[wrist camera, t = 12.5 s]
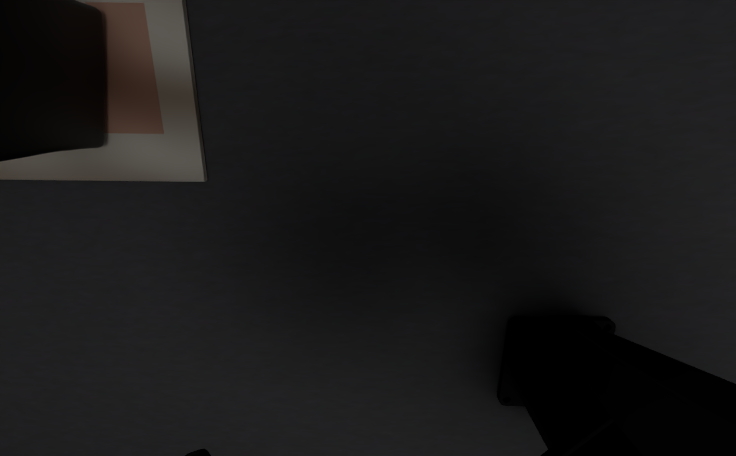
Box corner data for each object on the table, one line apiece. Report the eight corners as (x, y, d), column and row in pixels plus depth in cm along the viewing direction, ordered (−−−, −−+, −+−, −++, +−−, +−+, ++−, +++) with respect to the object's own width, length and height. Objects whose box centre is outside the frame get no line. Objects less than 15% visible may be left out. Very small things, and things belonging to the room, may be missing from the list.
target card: (207, 180, 20) (204, 181, 19) (-10, 177, 20) (-18, 179, 19) (178, -56, 17) (174, -60, 16) (-82, -60, 16) (-93, -64, 16)
